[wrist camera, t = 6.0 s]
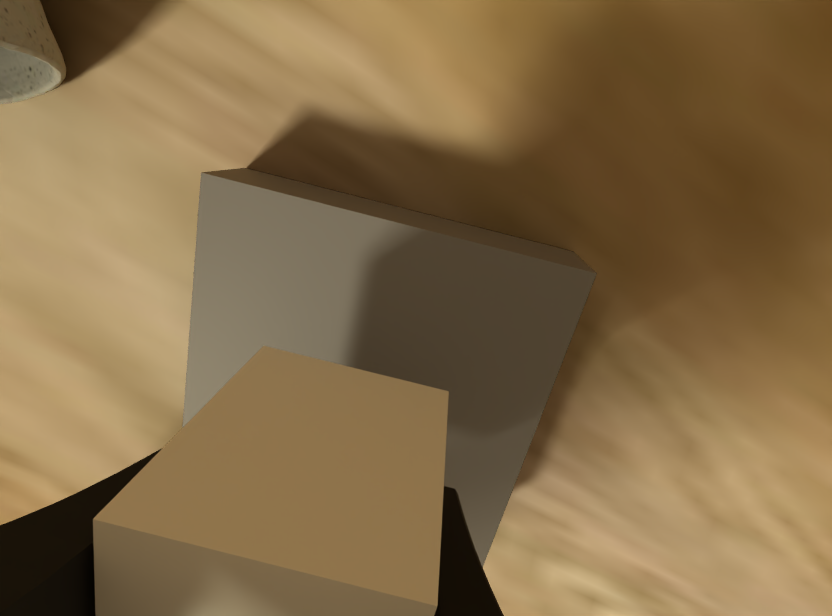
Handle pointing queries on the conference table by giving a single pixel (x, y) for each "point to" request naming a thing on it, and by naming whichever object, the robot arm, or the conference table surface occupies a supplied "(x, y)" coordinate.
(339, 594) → the cream block
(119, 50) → the conference table surface
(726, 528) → the conference table surface
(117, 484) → the robot arm
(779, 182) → the conference table surface
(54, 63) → the ceramic mug
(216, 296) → the gray plinth
